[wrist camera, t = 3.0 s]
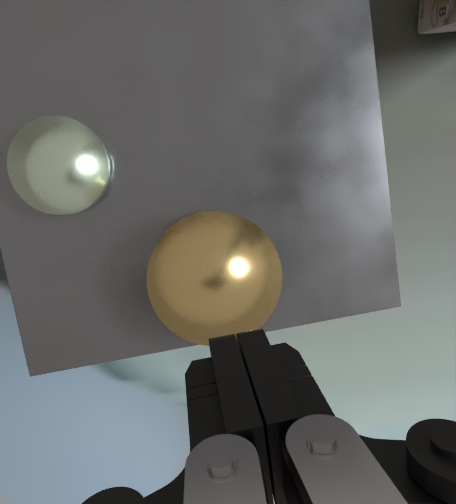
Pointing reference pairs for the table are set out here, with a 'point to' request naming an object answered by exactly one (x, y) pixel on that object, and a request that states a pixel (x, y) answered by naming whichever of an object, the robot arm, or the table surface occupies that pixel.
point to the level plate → (188, 172)
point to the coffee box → (437, 16)
